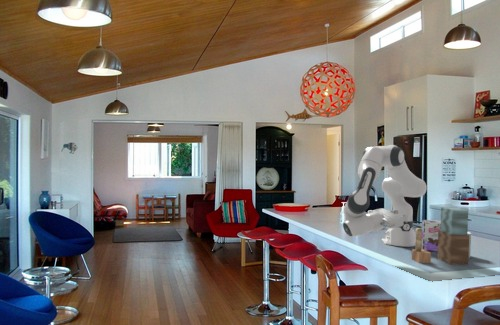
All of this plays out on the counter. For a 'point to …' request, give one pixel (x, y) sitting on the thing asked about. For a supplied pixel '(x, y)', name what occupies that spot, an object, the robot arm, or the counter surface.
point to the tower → (453, 236)
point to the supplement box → (469, 242)
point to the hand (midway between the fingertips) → (402, 213)
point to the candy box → (430, 235)
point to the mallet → (420, 250)
